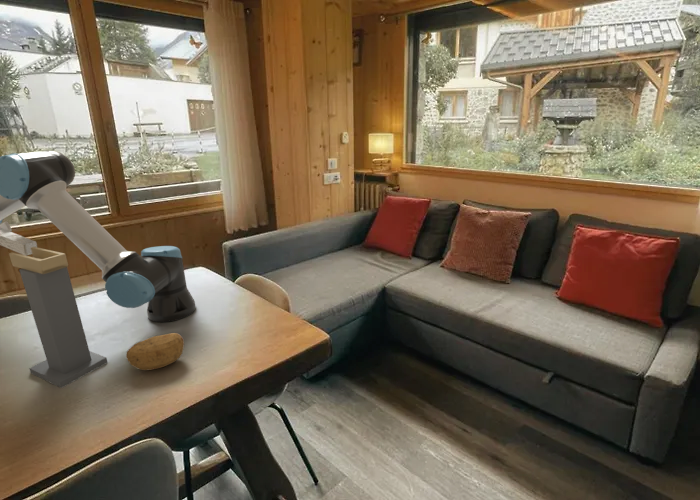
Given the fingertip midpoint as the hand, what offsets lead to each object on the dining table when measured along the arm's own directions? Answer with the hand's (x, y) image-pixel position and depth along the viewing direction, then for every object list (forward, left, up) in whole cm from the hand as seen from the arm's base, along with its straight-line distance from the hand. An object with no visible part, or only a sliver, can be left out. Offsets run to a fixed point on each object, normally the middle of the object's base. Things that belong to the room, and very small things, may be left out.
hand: (0, 227), depth 110 cm
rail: (-1, +1, -4) cm, 5 cm away
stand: (-18, +13, -36) cm, 42 cm away
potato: (-42, +14, -36) cm, 57 cm away
